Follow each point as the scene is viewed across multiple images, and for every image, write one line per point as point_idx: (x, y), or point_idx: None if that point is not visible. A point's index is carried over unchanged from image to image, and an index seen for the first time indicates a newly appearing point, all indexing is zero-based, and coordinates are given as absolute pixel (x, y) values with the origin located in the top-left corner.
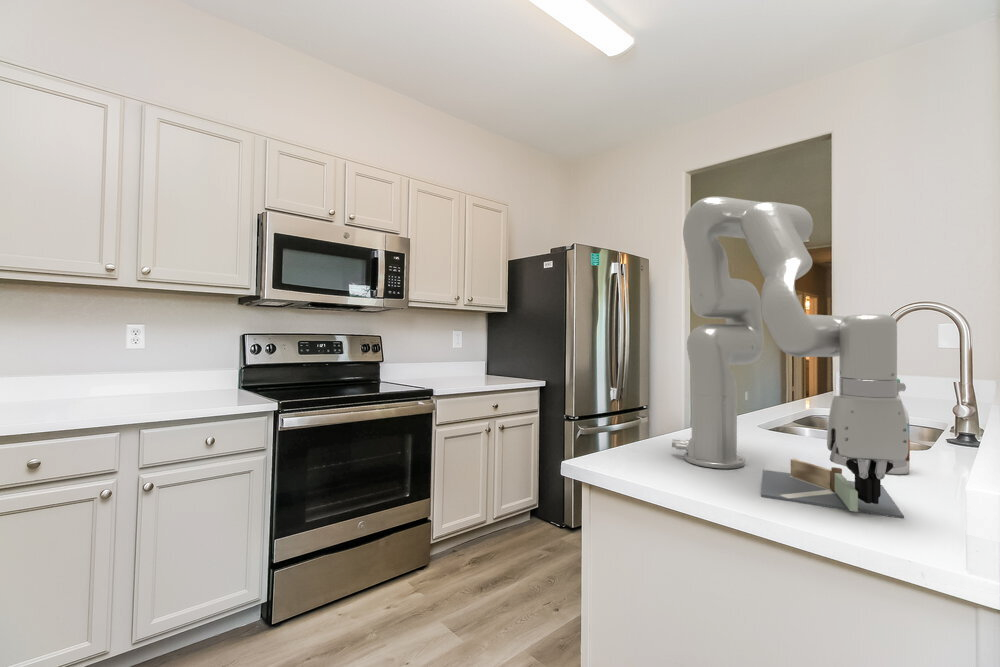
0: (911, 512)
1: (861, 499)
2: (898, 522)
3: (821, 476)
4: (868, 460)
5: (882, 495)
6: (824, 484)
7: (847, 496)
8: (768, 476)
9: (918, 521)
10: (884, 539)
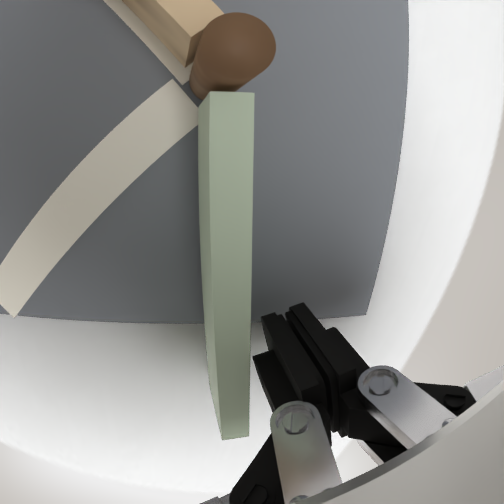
0: (407, 231)
1: (267, 344)
2: None
3: (150, 15)
4: (404, 436)
5: (387, 81)
6: (164, 42)
7: (213, 383)
8: None
9: (385, 312)
10: (251, 459)
